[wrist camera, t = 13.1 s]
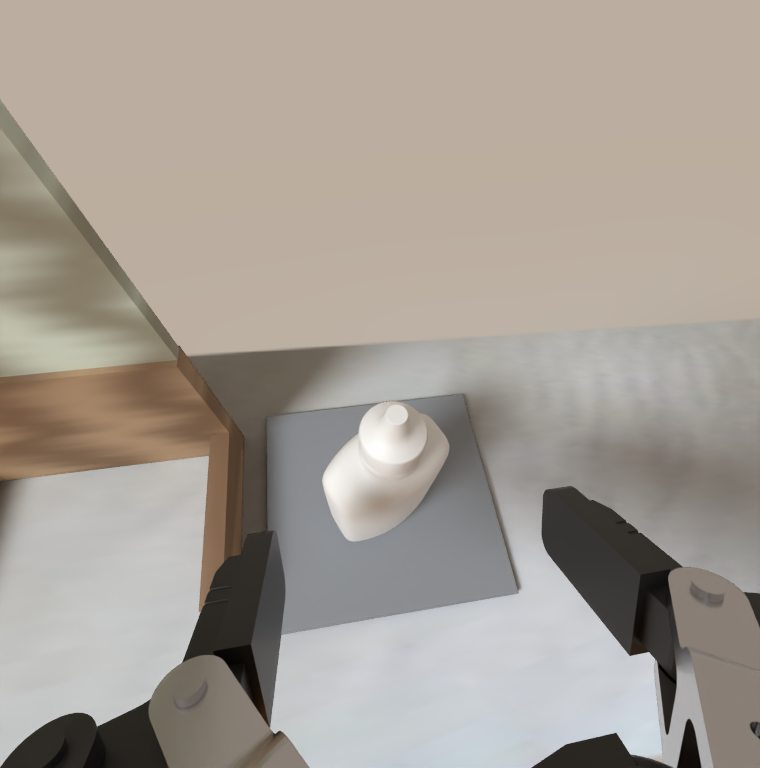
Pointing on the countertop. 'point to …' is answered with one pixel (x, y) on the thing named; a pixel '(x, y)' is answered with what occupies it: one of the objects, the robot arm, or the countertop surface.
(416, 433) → the eye dropper bottle
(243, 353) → the countertop surface
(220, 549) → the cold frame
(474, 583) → the slate mat
